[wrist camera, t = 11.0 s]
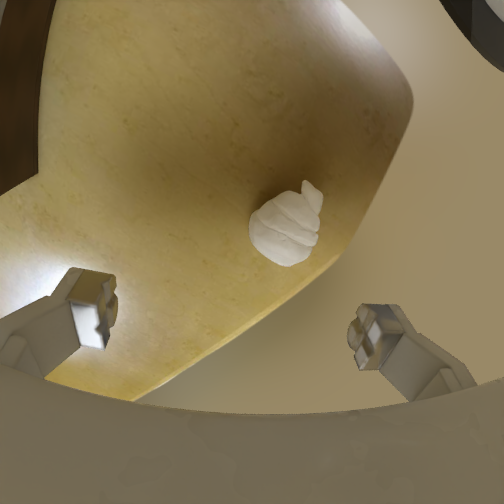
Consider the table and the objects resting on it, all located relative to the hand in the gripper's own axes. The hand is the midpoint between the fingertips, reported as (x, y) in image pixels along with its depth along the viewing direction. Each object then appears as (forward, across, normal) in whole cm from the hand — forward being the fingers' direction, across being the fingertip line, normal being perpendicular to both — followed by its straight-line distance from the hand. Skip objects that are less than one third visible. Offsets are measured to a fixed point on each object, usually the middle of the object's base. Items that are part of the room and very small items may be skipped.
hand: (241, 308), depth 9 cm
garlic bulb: (+16, -5, +2) cm, 17 cm away
